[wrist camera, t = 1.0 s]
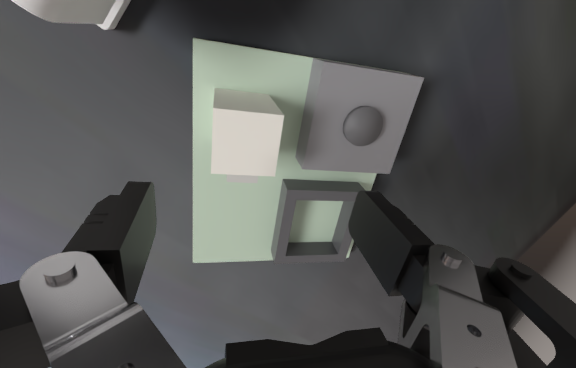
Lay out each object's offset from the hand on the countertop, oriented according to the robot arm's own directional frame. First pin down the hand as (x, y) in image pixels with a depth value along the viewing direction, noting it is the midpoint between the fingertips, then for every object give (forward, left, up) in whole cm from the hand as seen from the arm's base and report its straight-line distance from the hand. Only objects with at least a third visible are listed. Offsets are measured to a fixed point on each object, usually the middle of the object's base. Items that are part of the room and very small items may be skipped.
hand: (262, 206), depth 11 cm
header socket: (+9, +8, -13) cm, 18 cm away
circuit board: (+5, +5, -14) cm, 15 cm away
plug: (0, 0, -13) cm, 13 cm away
